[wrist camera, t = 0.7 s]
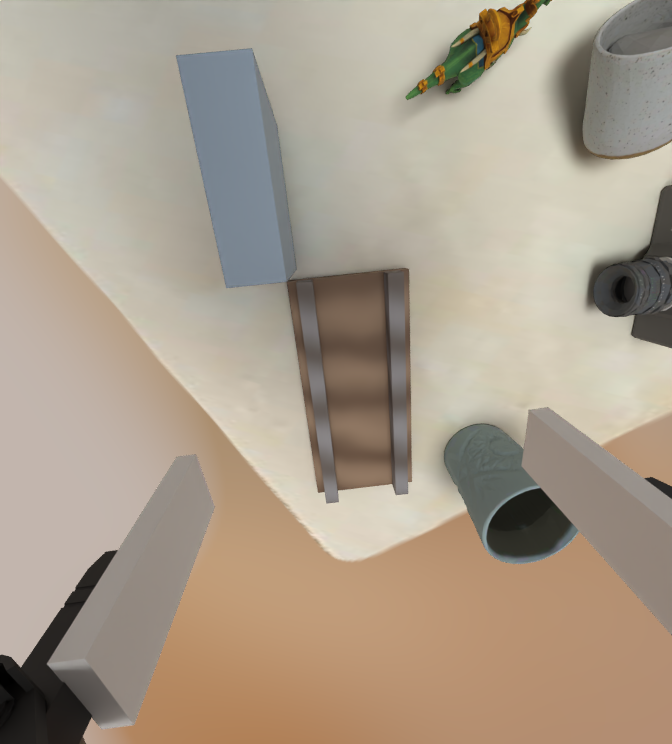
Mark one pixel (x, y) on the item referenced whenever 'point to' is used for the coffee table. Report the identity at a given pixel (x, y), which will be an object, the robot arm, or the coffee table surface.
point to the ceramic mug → (631, 82)
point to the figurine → (480, 46)
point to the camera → (644, 283)
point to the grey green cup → (505, 497)
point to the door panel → (239, 165)
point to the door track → (356, 377)
